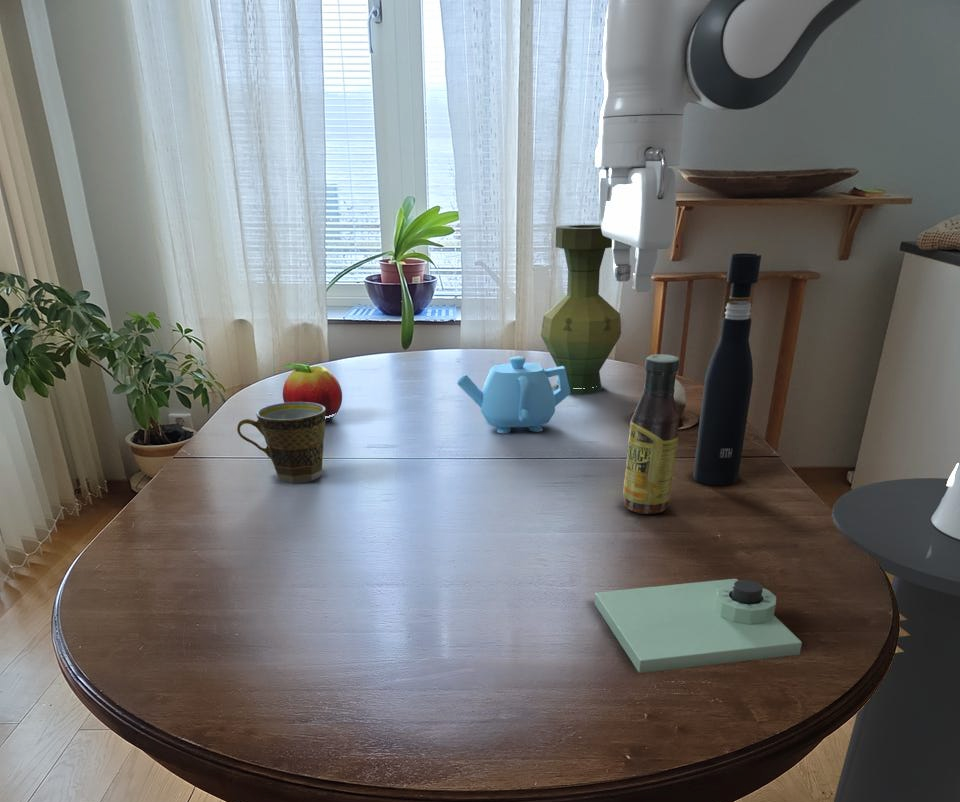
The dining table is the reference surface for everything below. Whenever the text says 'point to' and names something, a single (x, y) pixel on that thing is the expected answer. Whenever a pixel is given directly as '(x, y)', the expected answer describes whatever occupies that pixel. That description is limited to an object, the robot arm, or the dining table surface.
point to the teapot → (518, 394)
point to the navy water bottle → (728, 383)
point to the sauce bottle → (653, 439)
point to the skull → (681, 407)
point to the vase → (582, 311)
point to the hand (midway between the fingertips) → (631, 285)
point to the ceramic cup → (292, 439)
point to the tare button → (747, 592)
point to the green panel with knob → (694, 626)
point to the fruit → (313, 387)
